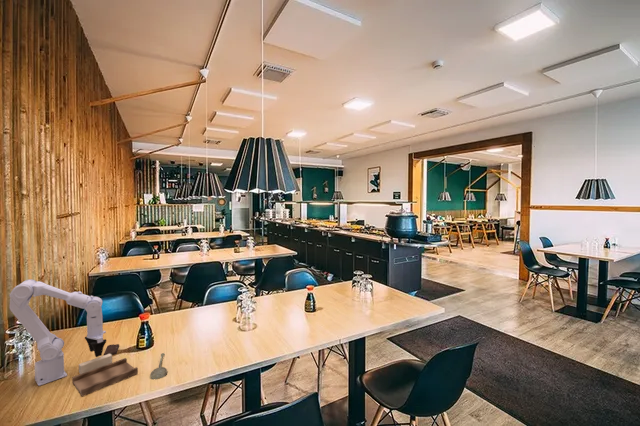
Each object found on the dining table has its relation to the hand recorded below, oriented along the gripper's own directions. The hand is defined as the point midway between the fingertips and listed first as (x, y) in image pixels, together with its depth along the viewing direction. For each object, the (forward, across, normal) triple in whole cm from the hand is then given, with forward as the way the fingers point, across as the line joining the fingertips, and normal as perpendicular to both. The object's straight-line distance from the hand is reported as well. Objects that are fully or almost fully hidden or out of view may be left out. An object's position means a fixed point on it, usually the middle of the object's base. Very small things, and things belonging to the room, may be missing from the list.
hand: (95, 353), depth 139 cm
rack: (+7, -14, 0) cm, 15 cm away
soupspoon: (+8, -22, -19) cm, 30 cm away
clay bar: (+7, 0, 0) cm, 7 cm away
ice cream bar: (+7, +10, -9) cm, 16 cm away
